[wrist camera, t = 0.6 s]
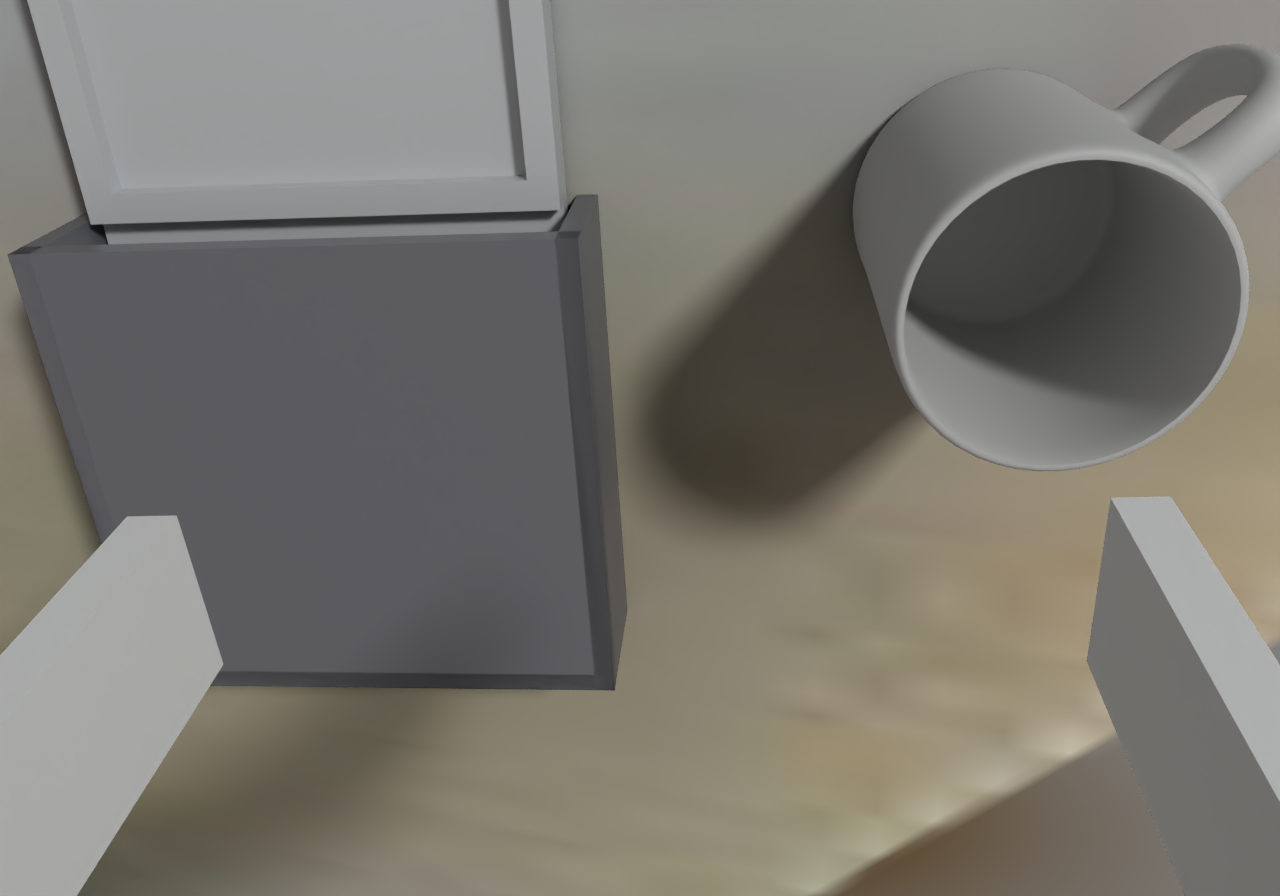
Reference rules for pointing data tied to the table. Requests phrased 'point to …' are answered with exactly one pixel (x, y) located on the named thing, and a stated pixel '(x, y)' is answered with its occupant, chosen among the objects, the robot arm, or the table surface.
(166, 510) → the housing
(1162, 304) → the mug
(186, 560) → the robot arm
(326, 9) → the tray
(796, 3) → the table surface
